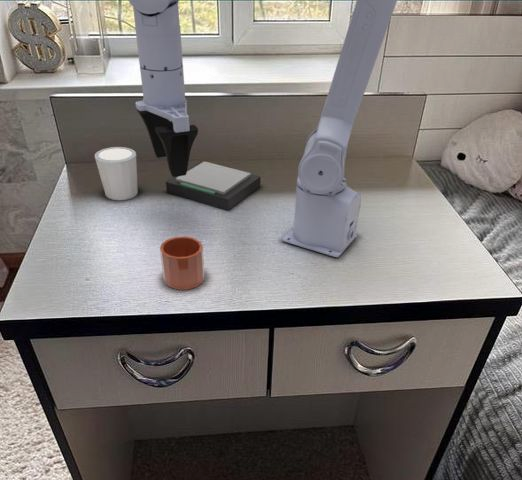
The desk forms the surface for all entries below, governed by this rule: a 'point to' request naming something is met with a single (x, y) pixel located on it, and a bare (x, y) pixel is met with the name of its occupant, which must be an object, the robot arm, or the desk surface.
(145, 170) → the desk surface
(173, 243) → the cup
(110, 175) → the shot glass
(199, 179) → the scale
